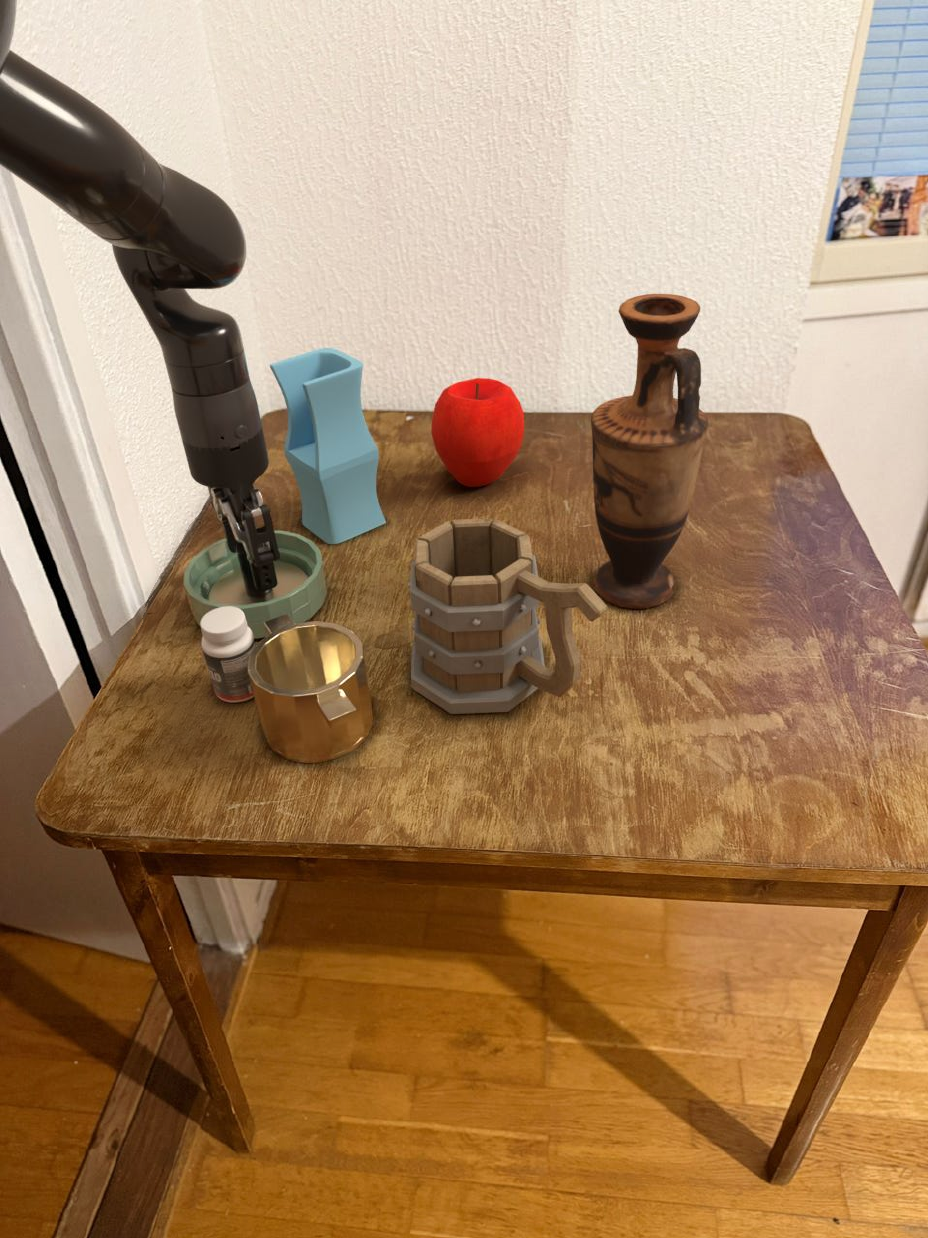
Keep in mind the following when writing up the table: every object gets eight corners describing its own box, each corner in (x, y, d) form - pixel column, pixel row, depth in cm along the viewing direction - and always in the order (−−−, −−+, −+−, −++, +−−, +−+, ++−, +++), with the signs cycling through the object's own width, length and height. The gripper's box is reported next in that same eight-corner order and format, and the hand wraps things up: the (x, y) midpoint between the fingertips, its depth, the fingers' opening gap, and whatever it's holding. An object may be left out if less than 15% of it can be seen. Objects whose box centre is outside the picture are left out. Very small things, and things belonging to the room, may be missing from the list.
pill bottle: (210, 680, 86) (190, 612, 81) (257, 665, 87) (241, 597, 82) (221, 710, 83) (200, 641, 77) (270, 694, 84) (253, 625, 79)
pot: (300, 800, 74) (284, 732, 69) (240, 695, 84) (222, 629, 79) (404, 753, 77) (396, 685, 72) (335, 658, 88) (323, 593, 83)
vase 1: (297, 521, 109) (268, 364, 97) (351, 498, 113) (329, 345, 100) (331, 547, 104) (305, 385, 92) (386, 523, 108) (368, 364, 95)
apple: (495, 513, 108) (492, 412, 100) (416, 491, 113) (407, 393, 105) (540, 472, 116) (541, 374, 108) (464, 453, 121) (459, 358, 113)
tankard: (385, 673, 86) (369, 543, 76) (475, 612, 93) (469, 487, 83) (544, 777, 74) (547, 639, 65) (632, 699, 81) (646, 565, 72)
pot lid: (229, 640, 90) (215, 588, 86) (198, 588, 97) (184, 538, 93) (325, 605, 94) (316, 553, 90) (289, 558, 101) (279, 508, 97)
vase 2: (562, 579, 97) (571, 303, 78) (638, 547, 101) (663, 278, 83) (628, 630, 89) (655, 338, 71) (706, 593, 94) (751, 308, 75)
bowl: (217, 660, 88) (207, 625, 86) (177, 589, 98) (167, 556, 96) (348, 612, 94) (343, 577, 91) (298, 549, 104) (292, 516, 101)
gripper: (161, 410, 87) (198, 548, 97) (204, 467, 77) (241, 614, 87) (234, 391, 90) (263, 528, 100) (285, 444, 80) (311, 590, 90)
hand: (253, 568), depth 93 cm, fingers open, 8 cm apart
